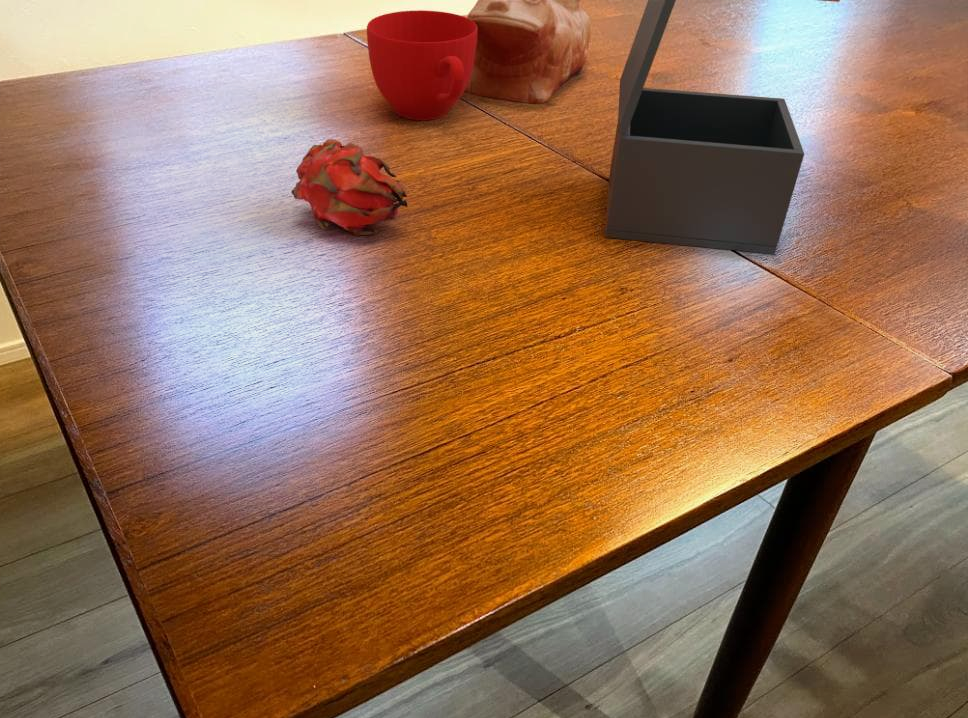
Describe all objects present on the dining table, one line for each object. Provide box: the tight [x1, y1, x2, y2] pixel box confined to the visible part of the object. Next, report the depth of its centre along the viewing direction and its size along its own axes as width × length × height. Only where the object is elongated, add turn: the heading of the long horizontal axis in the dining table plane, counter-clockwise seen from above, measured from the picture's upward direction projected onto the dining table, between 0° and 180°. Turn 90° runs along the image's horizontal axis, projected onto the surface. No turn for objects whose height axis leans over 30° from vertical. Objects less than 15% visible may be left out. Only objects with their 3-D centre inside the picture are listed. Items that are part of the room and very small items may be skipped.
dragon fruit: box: [290, 138, 409, 236], centre depth 83 cm, size 8×8×12 cm
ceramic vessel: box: [464, 0, 592, 105], centre depth 114 cm, size 14×26×15 cm, turn 155°
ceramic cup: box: [366, 9, 478, 121], centre depth 104 cm, size 13×17×10 cm
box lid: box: [617, 0, 677, 134], centre depth 77 cm, size 16×14×6 cm
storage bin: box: [605, 87, 805, 255], centre depth 85 cm, size 16×14×10 cm
